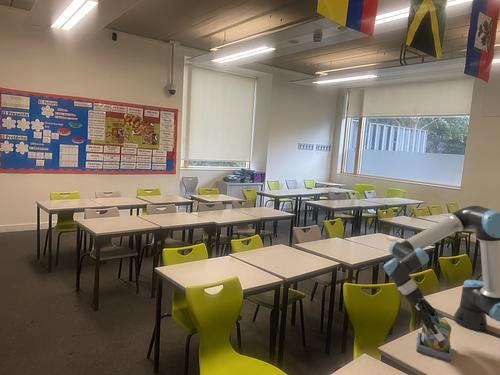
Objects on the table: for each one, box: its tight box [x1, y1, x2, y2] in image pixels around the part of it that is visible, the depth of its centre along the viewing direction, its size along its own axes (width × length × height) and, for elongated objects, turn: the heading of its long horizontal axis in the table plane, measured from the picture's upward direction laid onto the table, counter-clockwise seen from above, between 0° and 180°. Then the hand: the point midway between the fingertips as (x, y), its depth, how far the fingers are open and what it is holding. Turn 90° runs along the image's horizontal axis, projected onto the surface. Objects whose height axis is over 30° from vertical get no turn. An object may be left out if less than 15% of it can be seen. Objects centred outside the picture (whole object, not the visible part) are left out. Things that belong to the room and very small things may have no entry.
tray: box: [416, 332, 453, 363], centre depth 164 cm, size 13×13×3 cm
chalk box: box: [421, 311, 452, 352], centre depth 163 cm, size 9×9×15 cm
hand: (443, 334), depth 162 cm, fingers closed on chalk box, 11 cm apart
